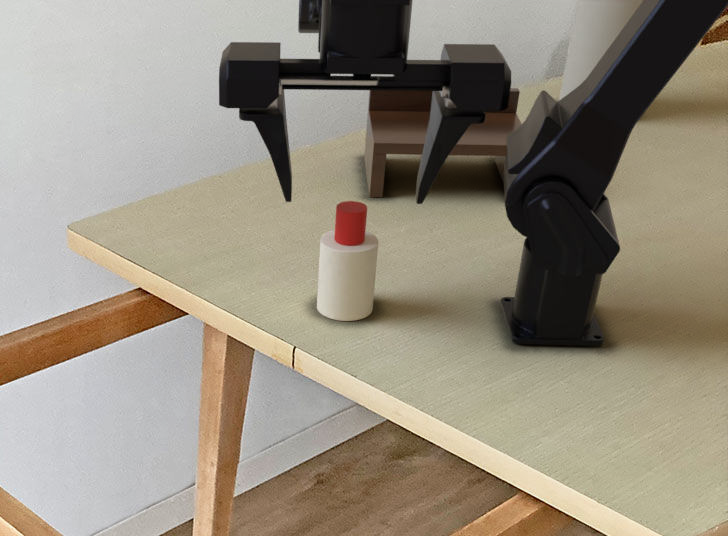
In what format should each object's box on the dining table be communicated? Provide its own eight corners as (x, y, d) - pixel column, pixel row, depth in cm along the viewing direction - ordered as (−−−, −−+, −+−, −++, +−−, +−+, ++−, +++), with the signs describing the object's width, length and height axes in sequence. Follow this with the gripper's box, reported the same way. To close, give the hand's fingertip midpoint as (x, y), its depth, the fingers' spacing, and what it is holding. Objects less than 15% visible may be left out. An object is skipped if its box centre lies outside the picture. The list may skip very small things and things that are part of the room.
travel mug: (610, 127, 114) (650, -61, 103) (543, 111, 118) (575, -72, 107) (645, 110, 119) (688, -73, 108) (580, 94, 123) (614, -83, 112)
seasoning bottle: (373, 321, 80) (383, 219, 75) (317, 320, 80) (322, 217, 75) (370, 296, 83) (379, 196, 78) (316, 294, 83) (321, 194, 79)
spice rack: (523, 200, 98) (536, 122, 94) (369, 197, 99) (375, 120, 95) (506, 160, 106) (518, 88, 102) (364, 158, 107) (369, 85, 103)
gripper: (502, -65, 73) (471, 162, 82) (226, -67, 74) (228, 158, 83) (530, -30, 64) (492, 220, 74) (217, -31, 65) (219, 216, 74)
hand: (353, 200), depth 76 cm, fingers open, 9 cm apart
